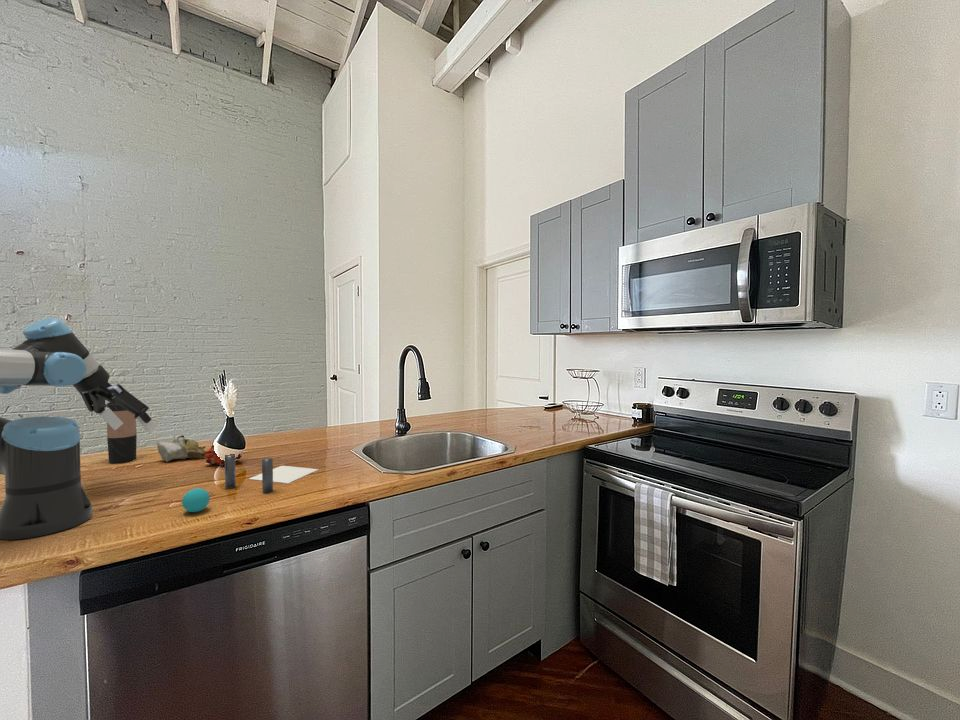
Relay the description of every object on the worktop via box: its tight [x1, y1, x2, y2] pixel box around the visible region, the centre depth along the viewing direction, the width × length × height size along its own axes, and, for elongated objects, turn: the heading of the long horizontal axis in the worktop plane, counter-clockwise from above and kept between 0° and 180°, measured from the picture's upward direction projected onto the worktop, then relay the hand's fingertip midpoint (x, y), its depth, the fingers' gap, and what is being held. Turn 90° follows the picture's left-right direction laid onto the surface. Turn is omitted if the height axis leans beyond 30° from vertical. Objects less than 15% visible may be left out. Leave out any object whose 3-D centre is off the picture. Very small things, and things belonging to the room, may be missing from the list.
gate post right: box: [261, 457, 274, 494], centre depth 115 cm, size 3×3×9 cm
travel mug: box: [106, 402, 138, 465], centre depth 144 cm, size 8×8×20 cm
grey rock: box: [156, 434, 207, 463], centre depth 148 cm, size 11×9×15 cm
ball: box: [181, 487, 211, 513], centre depth 102 cm, size 6×6×6 cm
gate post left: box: [224, 454, 237, 490], centre depth 119 cm, size 3×3×9 cm
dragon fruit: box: [200, 444, 242, 467], centre depth 141 cm, size 8×8×12 cm
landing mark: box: [248, 465, 319, 485], centre depth 131 cm, size 14×14×1 cm
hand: (135, 428), depth 125 cm, fingers open, 13 cm apart
